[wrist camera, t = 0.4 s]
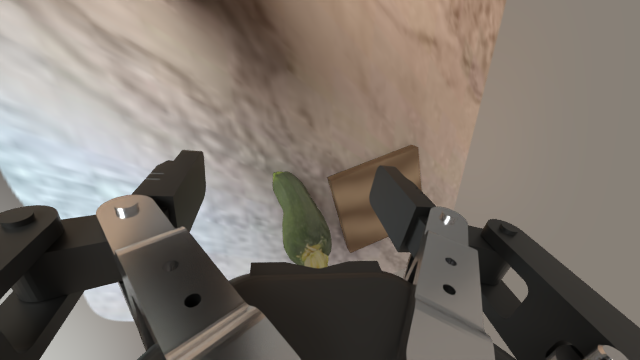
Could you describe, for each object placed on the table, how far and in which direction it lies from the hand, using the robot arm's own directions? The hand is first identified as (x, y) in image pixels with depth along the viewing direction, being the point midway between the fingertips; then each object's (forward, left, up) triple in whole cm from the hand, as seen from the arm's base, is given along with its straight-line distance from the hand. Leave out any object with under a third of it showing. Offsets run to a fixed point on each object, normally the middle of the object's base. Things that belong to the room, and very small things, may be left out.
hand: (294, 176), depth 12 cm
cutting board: (+19, +13, -21) cm, 31 cm away
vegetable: (+10, 0, -21) cm, 23 cm away
